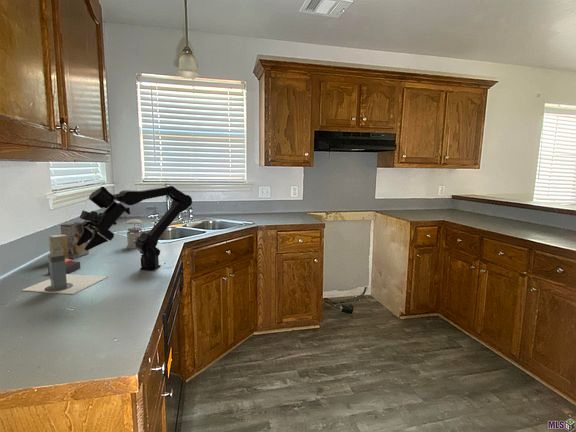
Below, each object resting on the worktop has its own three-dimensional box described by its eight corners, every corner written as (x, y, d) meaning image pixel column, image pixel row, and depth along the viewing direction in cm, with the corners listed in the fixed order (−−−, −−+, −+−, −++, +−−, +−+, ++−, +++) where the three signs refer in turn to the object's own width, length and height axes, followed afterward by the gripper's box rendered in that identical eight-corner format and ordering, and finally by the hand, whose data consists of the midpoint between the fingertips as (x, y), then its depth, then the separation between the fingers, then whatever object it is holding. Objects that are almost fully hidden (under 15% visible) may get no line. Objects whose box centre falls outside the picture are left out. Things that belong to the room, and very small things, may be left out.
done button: (72, 266, 140) (72, 259, 140) (65, 269, 136) (64, 262, 135) (64, 265, 140) (63, 258, 140) (55, 268, 136) (55, 261, 136)
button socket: (80, 268, 142) (80, 261, 141) (65, 274, 134) (65, 267, 134) (63, 267, 143) (63, 260, 142) (48, 273, 135) (47, 266, 135)
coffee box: (78, 252, 167) (76, 221, 164) (89, 253, 165) (87, 222, 163) (62, 257, 158) (60, 224, 155) (74, 258, 156) (71, 225, 154)
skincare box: (53, 263, 148) (51, 237, 146) (50, 261, 151) (47, 235, 149) (69, 260, 153) (67, 235, 151) (66, 258, 156) (64, 233, 154)
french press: (121, 247, 179) (118, 202, 175) (136, 242, 190) (134, 200, 186) (136, 249, 176) (133, 203, 172) (151, 244, 187) (149, 201, 183)
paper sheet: (107, 277, 131) (107, 276, 131) (73, 294, 114) (73, 293, 113) (62, 274, 134) (62, 273, 134) (22, 290, 116) (21, 289, 116)
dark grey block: (67, 287, 119) (64, 255, 117) (53, 289, 116) (51, 257, 114) (64, 284, 122) (61, 253, 120) (51, 287, 119) (48, 255, 117)
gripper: (85, 200, 131) (55, 231, 124) (102, 205, 118) (69, 239, 112) (107, 217, 138) (80, 247, 131) (126, 223, 125) (96, 257, 119)
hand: (81, 247), depth 123 cm, fingers open, 9 cm apart
